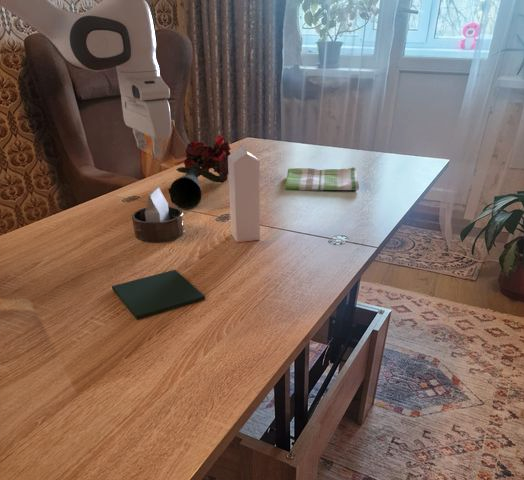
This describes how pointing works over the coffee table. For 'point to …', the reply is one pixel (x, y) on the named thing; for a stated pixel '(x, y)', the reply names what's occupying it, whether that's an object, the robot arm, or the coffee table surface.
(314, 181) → the dish towel
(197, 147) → the black vase with roses
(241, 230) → the milk
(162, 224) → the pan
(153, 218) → the white box
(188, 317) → the coffee table surface
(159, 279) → the mat
